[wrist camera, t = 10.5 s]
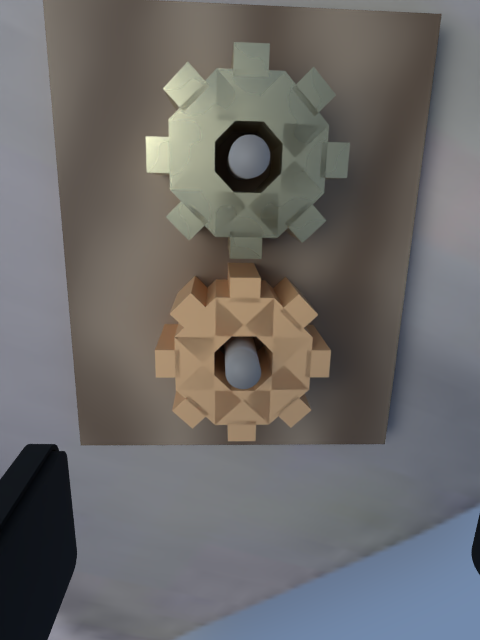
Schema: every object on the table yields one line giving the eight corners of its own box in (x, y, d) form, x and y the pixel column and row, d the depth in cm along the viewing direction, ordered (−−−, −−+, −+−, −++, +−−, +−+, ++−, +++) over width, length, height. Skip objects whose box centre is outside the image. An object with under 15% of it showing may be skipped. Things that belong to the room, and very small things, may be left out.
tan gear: (317, 263, 21) (336, 278, 18) (307, 402, 23) (323, 440, 20) (163, 262, 21) (152, 276, 17) (167, 403, 23) (158, 442, 19)
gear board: (425, 26, 20) (509, -39, 14) (375, 429, 26) (421, 499, 20) (55, 9, 19) (-15, -68, 13) (88, 430, 25) (49, 504, 19)
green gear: (332, 73, 19) (358, 47, 15) (319, 248, 21) (339, 260, 17) (156, 66, 18) (142, 37, 15) (160, 245, 20) (149, 257, 17)
